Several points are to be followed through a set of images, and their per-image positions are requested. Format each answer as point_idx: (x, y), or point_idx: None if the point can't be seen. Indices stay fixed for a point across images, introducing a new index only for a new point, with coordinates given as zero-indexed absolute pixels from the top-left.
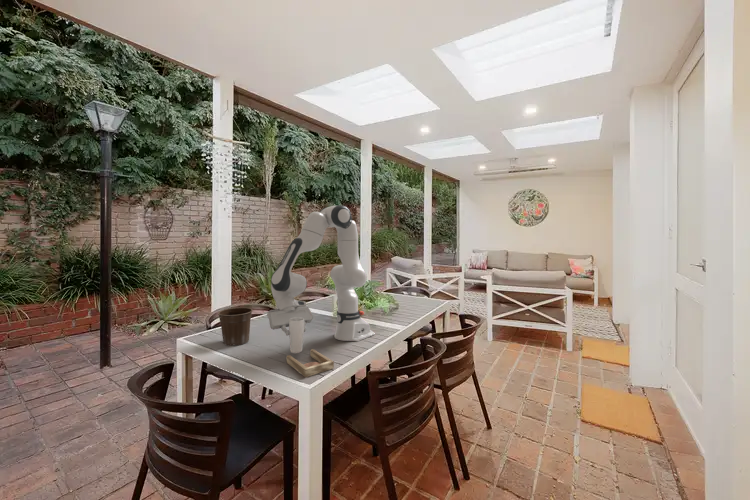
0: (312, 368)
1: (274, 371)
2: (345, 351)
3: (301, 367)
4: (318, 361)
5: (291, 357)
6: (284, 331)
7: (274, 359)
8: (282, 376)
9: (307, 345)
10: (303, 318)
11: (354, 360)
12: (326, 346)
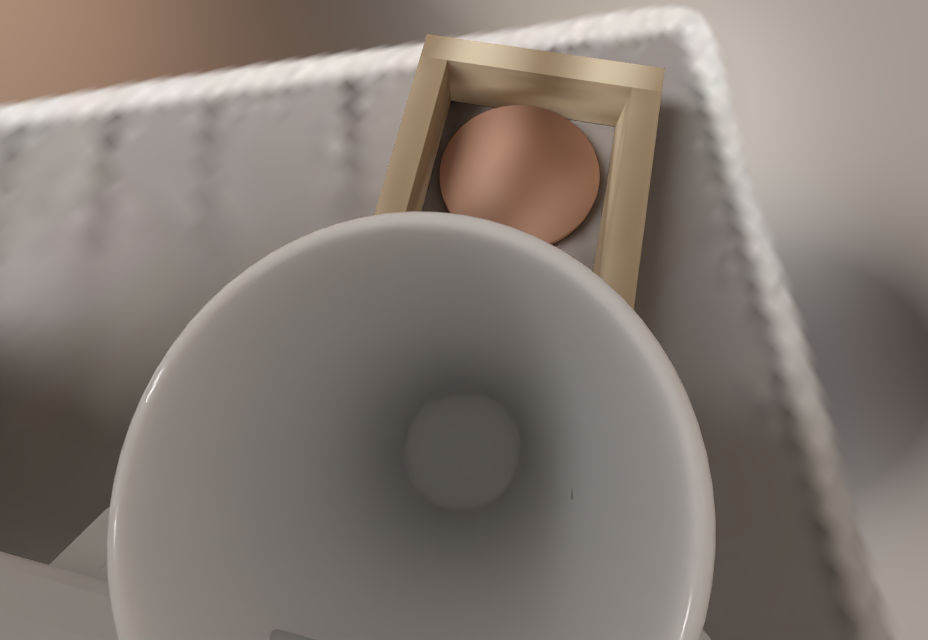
0: (606, 64)
1: (762, 334)
2: (142, 217)
3: (655, 128)
4: None
5: None
6: None
7: None
8: (754, 223)
9: None
10: (175, 359)
11: (250, 68)
12: (123, 423)
